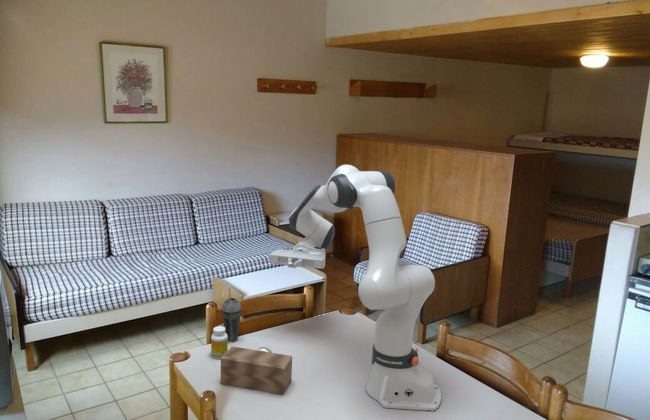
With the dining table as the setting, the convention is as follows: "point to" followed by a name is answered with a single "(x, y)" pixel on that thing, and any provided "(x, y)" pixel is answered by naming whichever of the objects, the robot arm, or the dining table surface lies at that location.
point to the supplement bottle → (219, 342)
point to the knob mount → (256, 370)
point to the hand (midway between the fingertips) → (291, 265)
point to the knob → (265, 349)
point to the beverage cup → (231, 317)
